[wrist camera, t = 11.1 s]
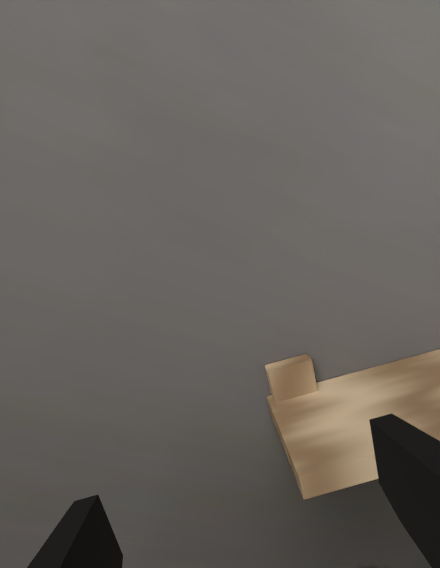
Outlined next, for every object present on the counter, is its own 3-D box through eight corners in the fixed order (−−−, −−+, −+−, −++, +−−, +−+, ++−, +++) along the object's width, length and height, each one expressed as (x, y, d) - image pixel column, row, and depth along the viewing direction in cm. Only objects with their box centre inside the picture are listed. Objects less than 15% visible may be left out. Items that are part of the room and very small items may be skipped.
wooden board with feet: (501, 301, 21) (624, 344, 15) (504, 379, 22) (619, 446, 16) (259, 366, 20) (289, 437, 15) (277, 442, 22) (311, 534, 16)
